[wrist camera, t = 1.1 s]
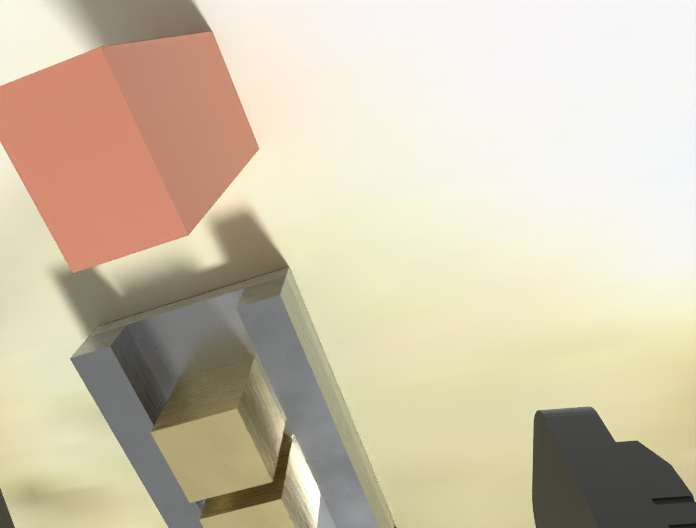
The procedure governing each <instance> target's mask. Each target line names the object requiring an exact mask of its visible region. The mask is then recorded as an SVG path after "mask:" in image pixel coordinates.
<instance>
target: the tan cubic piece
mask: <svg viewBox="0 0 696 528" xmlns="http://www.w3.org/2000/svg"><path fill="white" fill-rule="evenodd" d="M284 427H285V424H284V422H283V420H282V418H281V416H280V413H279V411H278V409H277V407H276V405H275V403H274V400H273V398H272V396H271V394H270V392H269V389H268V387H267V385H266V383H265V381H264V379H263V376H262V374H261V372H260V370H259V368H258V366H257V363H256V361H255V359H250V360H247V361H243V362H240V363H236V364H233V365H229V366H226V367H222V368H219V369H216V370H212V371H209V372H205V373H202V374H198V375H195V376H191V377H188V378H184V379H181V380H178V381H177V383H176V385H175V387H174V389H173V391H172V393H171V394H170V396H169V398H168V400H167V402H166V404H165V406H164V408H163V410H162V411H161V413H160V415H159V417H158V419H157V421H156V423H155V425H154V427H153V429H152V430H151V432H150V433H151V434H152V436H153V438H154V440H155V442H156V443H157V445H158V447H159V449H160V451H161V452H162V454H163V456H164V458H165V460H166V461H167V463H168V465H169V467H170V468H171V470H172V472H173V474H174V476H175V477H176V479H177V481H178V483H179V485H180V486H181V488H182V490H183V492H184V494H185V495H186V497H187V499H188V501H189V503H192V502H196V501H200V500H204V499H207V498H211V497H215V496H219V495H223V494H227V493H231V492H235V491H239V490H243V489H247V488H251V487H255V486H259V485H263V484H267V483H271V482H273V478H274V474H275V469H276V464H277V460H278V455H279V450H280V446H281V441H282V436H283V432H284Z"/></svg>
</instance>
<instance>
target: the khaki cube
mask: <svg viewBox="0 0 696 528" xmlns="http://www.w3.org/2000/svg"><path fill="white" fill-rule="evenodd" d="M319 502H320V500H319V498H318V496H317V494H316V492H315V490H314V487H313V485H312V483H311V481H310V479H309V477H308V474H307V472H306V470H305V468H304V466H303V463H302V461H301V459H300V457H299V455H298V453H297V450H296V448H295V446H294V444H293V442H292V441H290V442H286V443H283V444H281V446H280V450H279V455H278V460H277V464H276V469H275V474H274V478H273V482H271V483H267V484H263V485H259V486H255V487H251V488H247V489H243V490H239V491H235V492H231V493H227V494H223V495H219V496H215V497H211V498H207V499H206V500H205V503H204V506H203V509H202V512H201V515H200V518H199V521H200V522H201V524H202V526H203V528H317V520H318V511H319Z"/></svg>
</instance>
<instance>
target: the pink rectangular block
mask: <svg viewBox="0 0 696 528" xmlns="http://www.w3.org/2000/svg"><path fill="white" fill-rule="evenodd" d="M0 142H1V143H2V145H3V147H4V149H5V151H6V152H7V154H8V156H9V158H10V160H11V162H12V163H13V165H14V167H15V169H16V171H17V172H18V174H19V176H20V178H21V180H22V182H23V183H24V185H25V187H26V189H27V191H28V192H29V194H30V196H31V198H32V200H33V202H34V203H35V205H36V207H37V209H38V211H39V213H40V214H41V216H42V218H43V220H44V222H45V223H46V225H47V227H48V229H49V231H50V233H51V234H52V236H53V238H54V240H55V242H56V243H57V245H58V247H59V249H60V251H61V253H62V254H63V256H64V258H65V260H66V262H67V263H68V265H69V267H70V269H71V271H72V273H75V272H78V271H81V270H84V269H87V268H90V267H93V266H96V265H99V264H102V263H106V262H109V261H112V260H115V259H118V258H121V257H124V256H127V255H130V254H133V253H136V252H139V251H142V250H145V249H148V248H151V247H154V246H157V245H160V244H163V243H166V242H169V241H172V240H176V239H179V238H182V237H185V236H188V235H189V234H190V233H191V231H192V230H193V229H194V228H195V226H196V225H197V224H198V223H199V222H200V220H201V219H202V218H203V217H204V215H205V214H206V213H207V212H208V211H209V209H210V208H211V207H212V206H213V205H214V203H215V202H216V201H217V200H218V198H219V197H220V196H221V195H222V194H223V192H224V191H225V190H226V189H227V187H228V186H229V185H230V184H231V183H232V181H233V180H234V179H235V178H236V176H237V175H238V174H239V173H240V172H241V170H242V169H243V168H244V167H245V166H246V164H247V163H248V162H249V161H250V159H251V158H252V157H253V156H254V155H255V153H256V152H257V151H258V150H259V147H258V145H257V142H256V140H255V137H254V135H253V132H252V130H251V127H250V125H249V122H248V120H247V117H246V115H245V112H244V110H243V107H242V105H241V102H240V100H239V97H238V95H237V92H236V90H235V87H234V85H233V82H232V80H231V77H230V75H229V72H228V70H227V67H226V65H225V62H224V60H223V57H222V55H221V52H220V50H219V47H218V45H217V42H216V40H215V37H214V35H213V32H212V31H210V32H202V33H195V34H188V35H181V36H174V37H167V38H160V39H153V40H146V41H139V42H132V43H125V44H118V45H111V46H103V47H99V48H96V49H94V50H91V51H89V52H86V53H84V54H81V55H79V56H76V57H73V58H71V59H68V60H66V61H63V62H61V63H58V64H56V65H53V66H50V67H48V68H45V69H43V70H40V71H38V72H35V73H33V74H30V75H27V76H25V77H22V78H20V79H17V80H15V81H12V82H10V83H7V84H4V85H2V86H0Z"/></svg>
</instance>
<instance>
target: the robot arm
mask: <svg viewBox="0 0 696 528" xmlns="http://www.w3.org/2000/svg"><path fill="white" fill-rule="evenodd" d="M532 502H533V512H534V519H535V524H536V528H696V502H695V501H694V499H693V495H692V493H691V492H690V490H689V489H688V488H687V486H686V485H685V484H684V482H683V481H682V479H681V478H680V477H679V475H678V474H677V472H676V471H675V470H674V468H673V467H672V466H671V465H670V464H669V463H668V462H666V461H665V460H663V459H662V458H661V457H659V456H658V455H656V454H655V453H654V452H652V451H651V450H650V449H648V448H647V447H645V446H644V445H643V444H641V443H640V442H638V441H627V442H615V440H614V439H613V437H612V436H611V434H610V432H609V431H608V429H607V428H606V426H605V425H604V423H603V421H602V420H601V418H600V417H599V415H598V413H597V412H596V411H595V410H594V409H593V408H592V407H578V408H565V409H551V410H538V411H537V412H536V414H535V417H534V435H533V483H532ZM0 528H15V527H14V524H13V522H12V519H11V516H10V514H9V511H8V508H7V505H6V503H5V500H4V497H3V495H2V492H1V489H0Z"/></svg>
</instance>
